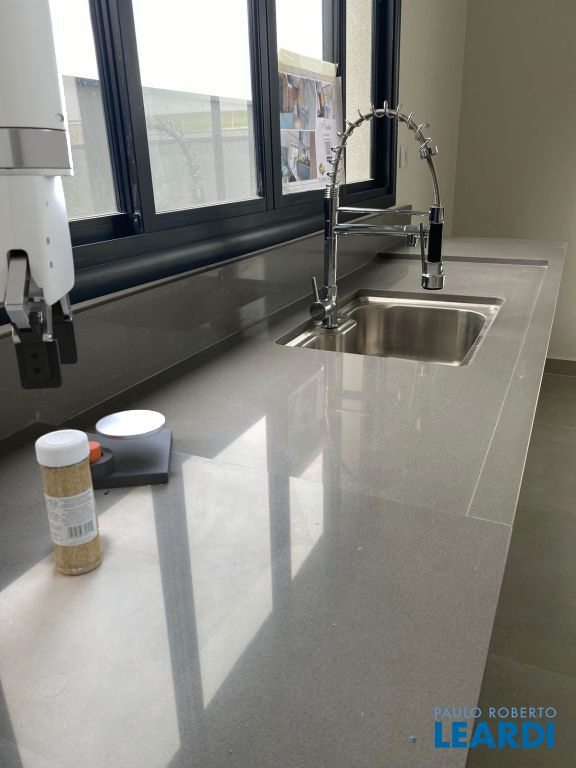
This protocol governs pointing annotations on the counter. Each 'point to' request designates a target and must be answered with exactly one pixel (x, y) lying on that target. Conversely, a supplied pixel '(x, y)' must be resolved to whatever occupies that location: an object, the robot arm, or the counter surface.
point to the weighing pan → (130, 424)
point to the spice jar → (70, 500)
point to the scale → (132, 461)
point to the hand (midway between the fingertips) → (52, 373)
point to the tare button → (94, 451)
